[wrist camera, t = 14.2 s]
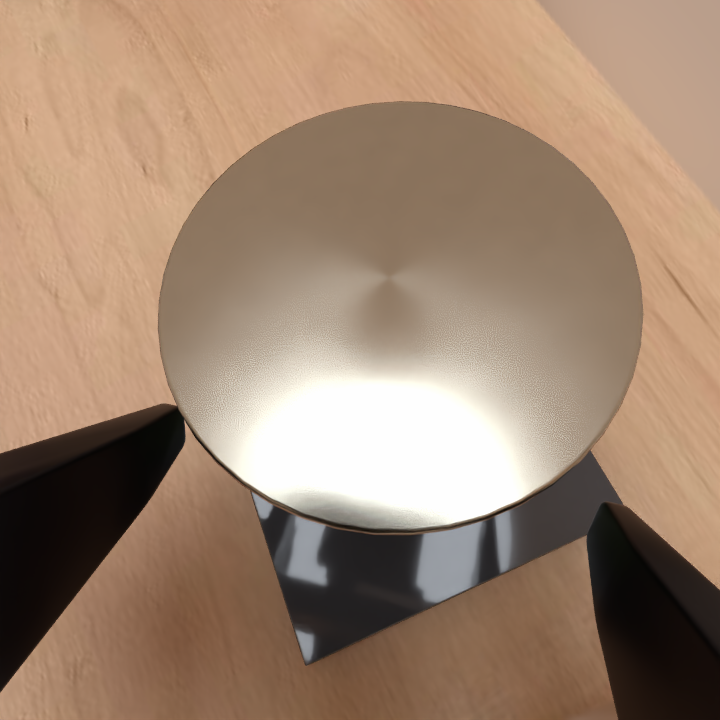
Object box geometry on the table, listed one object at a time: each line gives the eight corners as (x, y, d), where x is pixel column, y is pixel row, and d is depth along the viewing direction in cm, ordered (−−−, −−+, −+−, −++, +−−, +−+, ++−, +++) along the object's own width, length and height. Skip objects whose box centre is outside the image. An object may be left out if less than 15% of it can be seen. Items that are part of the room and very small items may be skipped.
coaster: (621, 515, 14) (630, 515, 14) (309, 661, 14) (305, 667, 13) (463, 253, 18) (465, 245, 18) (212, 358, 18) (206, 353, 17)
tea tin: (428, 570, 14) (485, 673, 4) (265, 451, 16) (60, 347, 6) (527, 397, 15) (725, 207, 6) (370, 307, 17) (332, 48, 8)
